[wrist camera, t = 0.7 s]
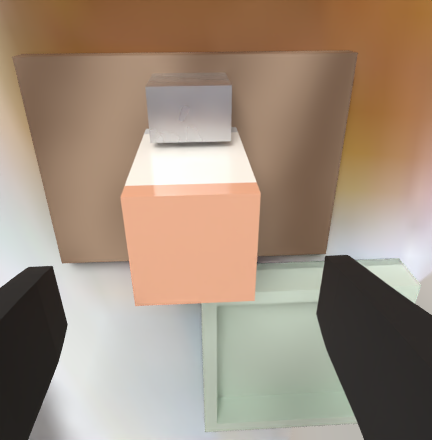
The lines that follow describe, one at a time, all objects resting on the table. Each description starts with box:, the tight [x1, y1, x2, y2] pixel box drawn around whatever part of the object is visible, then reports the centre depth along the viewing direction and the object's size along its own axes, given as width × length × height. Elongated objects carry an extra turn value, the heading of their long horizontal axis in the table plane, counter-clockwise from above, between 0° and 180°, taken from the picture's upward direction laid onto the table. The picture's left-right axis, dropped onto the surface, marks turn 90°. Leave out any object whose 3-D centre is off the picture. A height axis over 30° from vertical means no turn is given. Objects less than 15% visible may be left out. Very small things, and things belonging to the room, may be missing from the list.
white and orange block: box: [120, 127, 261, 306], centre depth 15 cm, size 4×4×7 cm
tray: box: [201, 258, 421, 432], centre depth 24 cm, size 12×12×2 cm
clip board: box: [12, 51, 358, 263], centre depth 17 cm, size 14×10×4 cm
